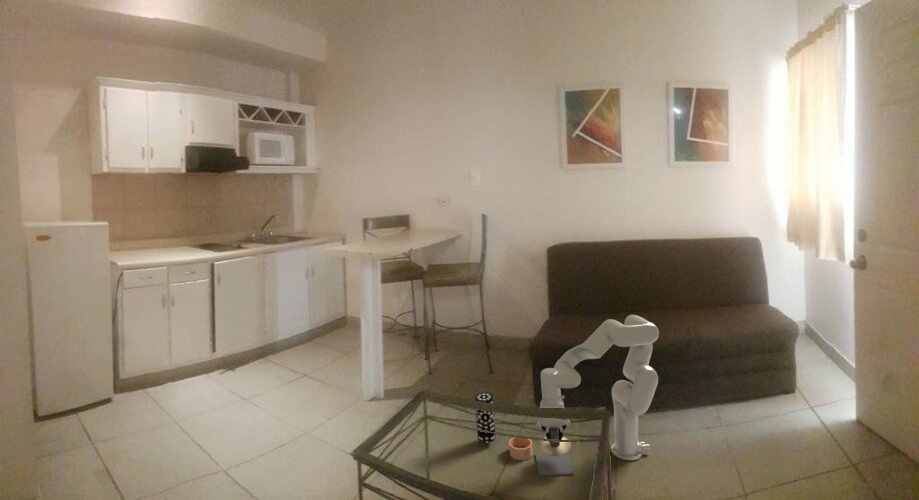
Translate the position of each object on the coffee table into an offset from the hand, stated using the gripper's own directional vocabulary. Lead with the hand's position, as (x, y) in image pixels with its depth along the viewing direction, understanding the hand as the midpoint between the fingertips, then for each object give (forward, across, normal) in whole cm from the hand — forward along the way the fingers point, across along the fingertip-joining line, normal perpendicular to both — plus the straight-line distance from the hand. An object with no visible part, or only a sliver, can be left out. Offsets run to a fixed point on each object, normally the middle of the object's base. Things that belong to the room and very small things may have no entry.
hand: (554, 439), depth 185 cm
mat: (+11, +1, 0) cm, 11 cm away
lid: (+3, 0, 0) cm, 3 cm away
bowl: (+11, +14, -8) cm, 20 cm away
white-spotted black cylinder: (+8, +29, -17) cm, 34 cm away
